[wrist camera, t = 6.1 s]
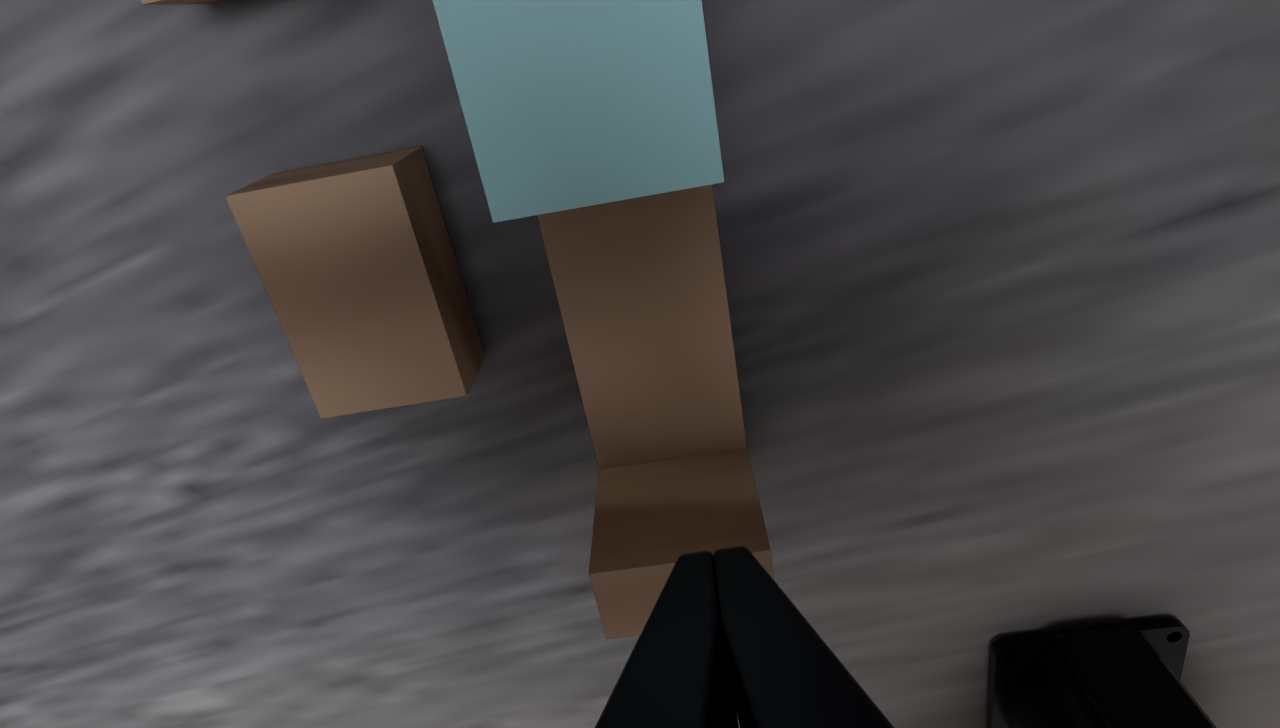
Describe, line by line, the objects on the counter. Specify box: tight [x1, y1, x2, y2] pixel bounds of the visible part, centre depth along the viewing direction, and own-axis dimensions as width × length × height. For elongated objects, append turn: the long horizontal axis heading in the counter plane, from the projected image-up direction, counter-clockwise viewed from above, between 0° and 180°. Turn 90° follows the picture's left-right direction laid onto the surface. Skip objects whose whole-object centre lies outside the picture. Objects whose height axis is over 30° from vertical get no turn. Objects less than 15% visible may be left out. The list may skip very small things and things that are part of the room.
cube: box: [433, 0, 724, 223], centre depth 13 cm, size 4×4×4 cm
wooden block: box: [537, 184, 774, 639], centre depth 16 cm, size 16×4×6 cm, turn 10°
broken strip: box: [141, 0, 485, 418], centre depth 17 cm, size 16×4×2 cm, turn 10°
